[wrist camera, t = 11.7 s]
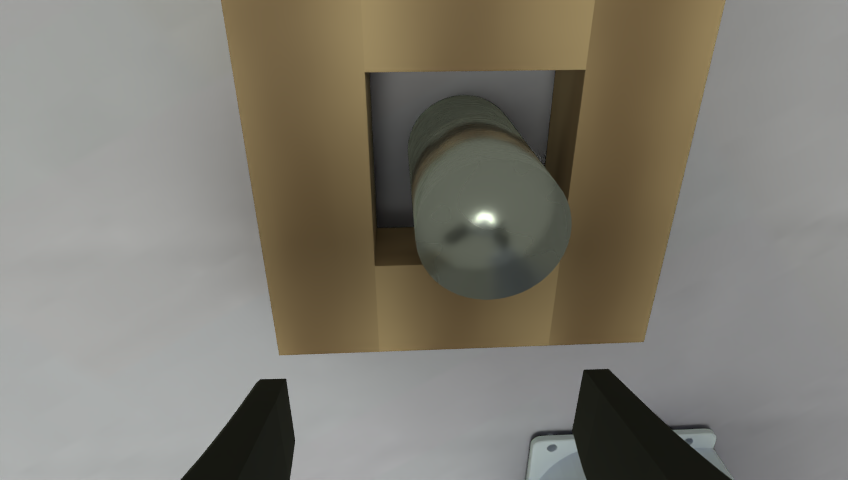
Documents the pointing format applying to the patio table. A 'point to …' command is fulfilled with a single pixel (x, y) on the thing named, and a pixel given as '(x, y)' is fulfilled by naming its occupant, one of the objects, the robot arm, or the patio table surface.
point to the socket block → (565, 161)
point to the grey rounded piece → (482, 202)
